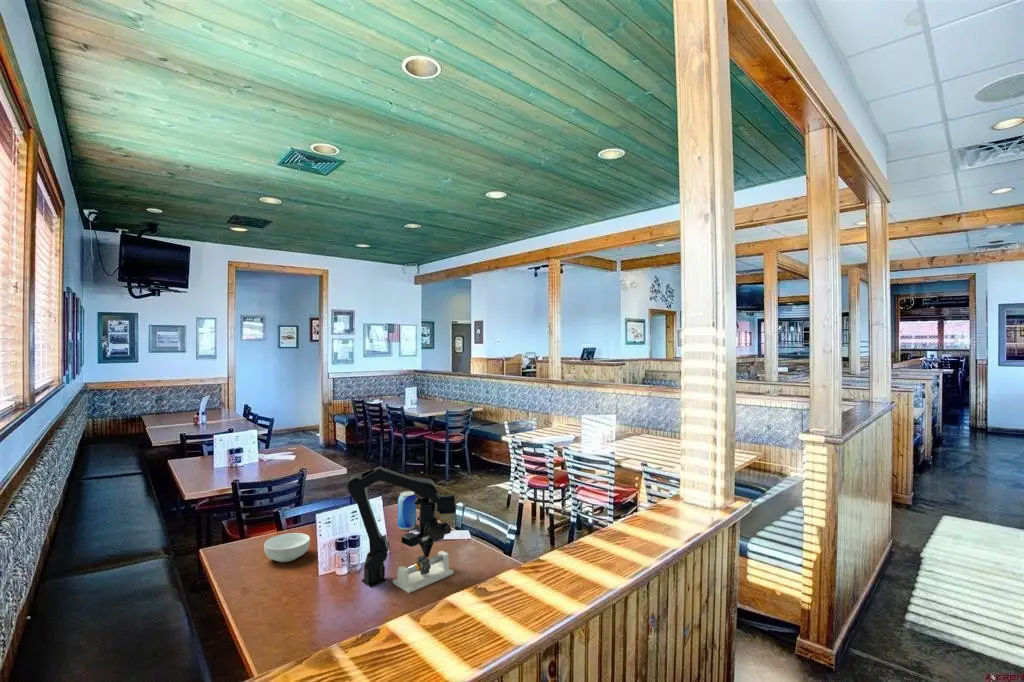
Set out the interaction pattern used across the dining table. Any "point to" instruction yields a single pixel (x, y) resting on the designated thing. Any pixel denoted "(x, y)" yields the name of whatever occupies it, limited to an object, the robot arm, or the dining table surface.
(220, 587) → the dining table surface
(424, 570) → the black lobed collar
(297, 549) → the cereal bowl
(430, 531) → the robot arm
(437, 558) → the pipe
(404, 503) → the beer can
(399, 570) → the base board
